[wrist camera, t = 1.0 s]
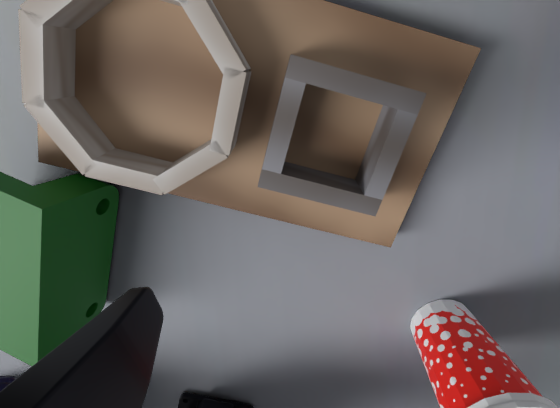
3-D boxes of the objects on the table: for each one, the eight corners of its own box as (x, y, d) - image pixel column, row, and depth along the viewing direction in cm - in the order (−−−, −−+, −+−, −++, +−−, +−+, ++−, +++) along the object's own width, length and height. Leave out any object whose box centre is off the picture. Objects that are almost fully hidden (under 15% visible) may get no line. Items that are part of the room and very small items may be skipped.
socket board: (384, 236, 23) (403, 269, 19) (54, 155, 21) (5, 175, 17) (466, 49, 18) (512, 46, 15) (53, -77, 16) (-14, -117, 13)
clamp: (82, 164, 26) (-44, 133, 17) (149, 192, 25) (55, 175, 16) (23, 309, 26) (-136, 355, 17) (89, 341, 25) (-40, 408, 16)
